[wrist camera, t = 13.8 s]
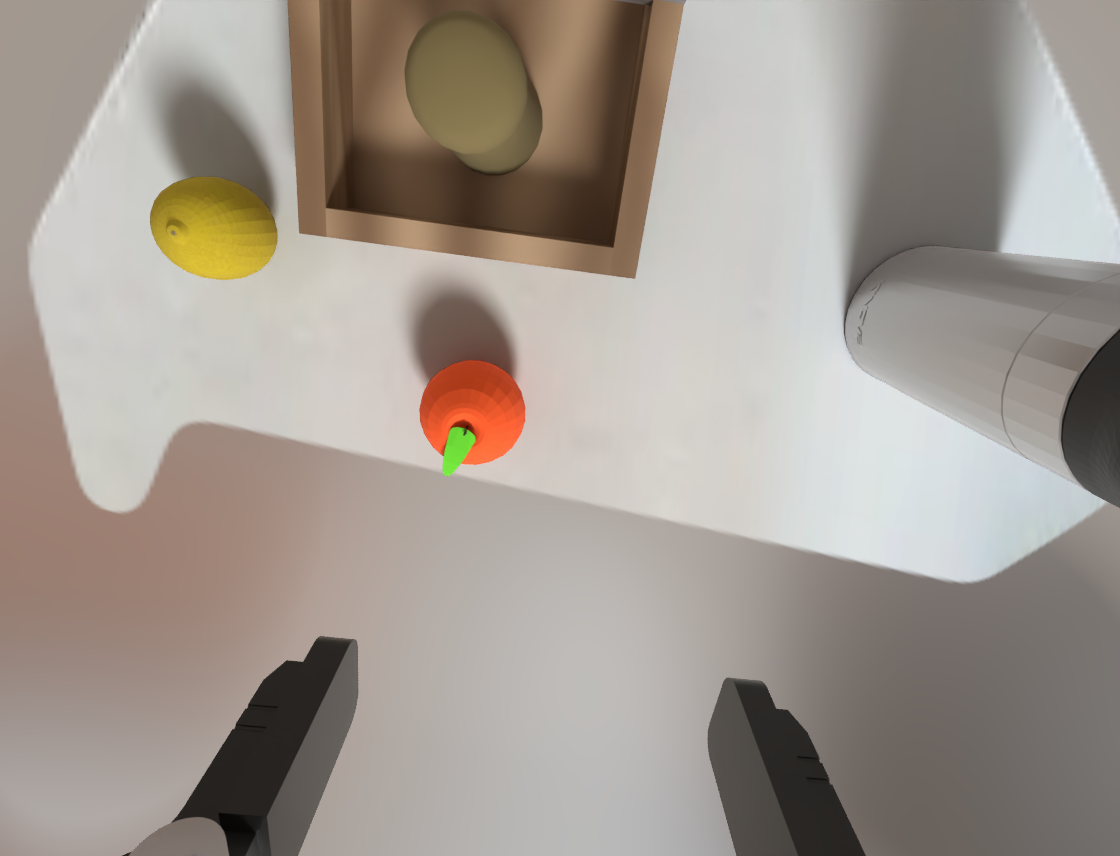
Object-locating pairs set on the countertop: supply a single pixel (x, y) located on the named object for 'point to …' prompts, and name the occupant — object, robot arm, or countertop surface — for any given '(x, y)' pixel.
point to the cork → (473, 92)
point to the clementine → (472, 413)
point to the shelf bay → (434, 171)
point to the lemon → (213, 228)
